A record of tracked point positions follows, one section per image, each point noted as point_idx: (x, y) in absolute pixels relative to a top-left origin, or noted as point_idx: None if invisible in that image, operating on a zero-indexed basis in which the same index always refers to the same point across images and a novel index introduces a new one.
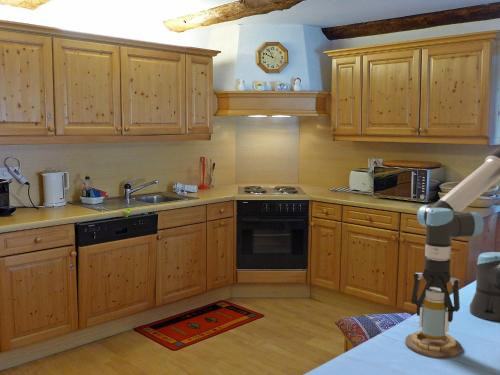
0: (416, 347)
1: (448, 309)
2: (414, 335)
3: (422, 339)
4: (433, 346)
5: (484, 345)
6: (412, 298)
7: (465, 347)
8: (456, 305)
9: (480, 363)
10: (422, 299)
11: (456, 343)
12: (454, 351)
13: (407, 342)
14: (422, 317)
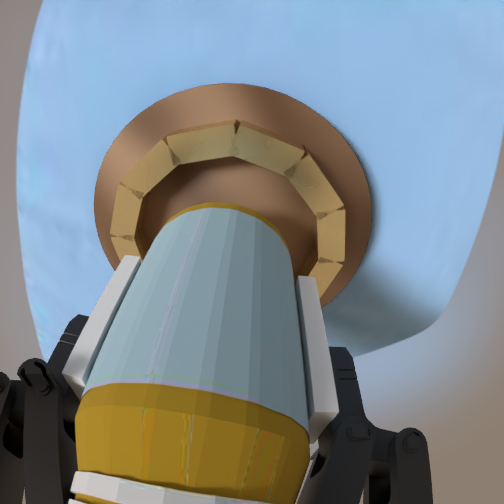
0: None
1: (318, 465)
2: (127, 250)
3: (167, 215)
4: None
5: (469, 130)
6: (13, 438)
7: (387, 182)
8: (381, 499)
9: (410, 305)
10: None
11: (349, 195)
12: (330, 287)
13: None
14: None
